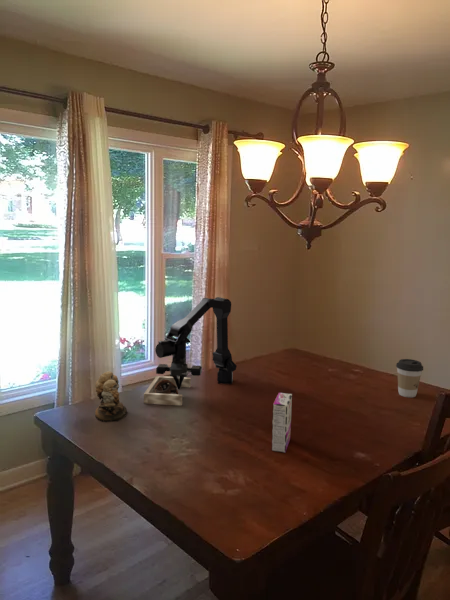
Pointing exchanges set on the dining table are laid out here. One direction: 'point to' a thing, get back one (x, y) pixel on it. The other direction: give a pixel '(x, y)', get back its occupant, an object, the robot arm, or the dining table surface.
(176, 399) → the birch bracket
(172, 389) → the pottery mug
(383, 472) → the dining table surface
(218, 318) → the robot arm
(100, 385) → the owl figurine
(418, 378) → the coffee cup
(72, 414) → the dining table surface
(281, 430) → the candy bar box
